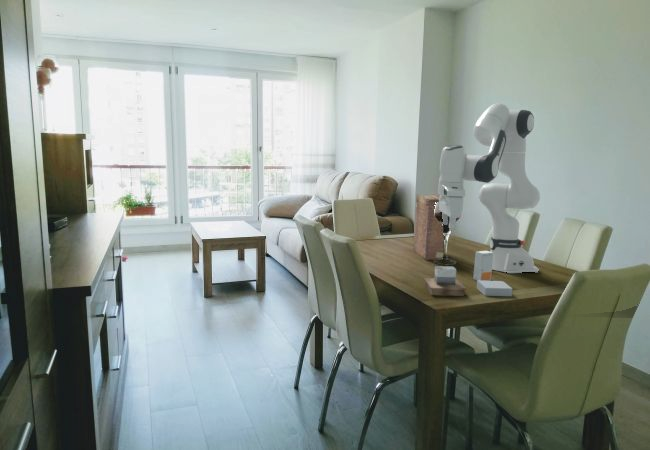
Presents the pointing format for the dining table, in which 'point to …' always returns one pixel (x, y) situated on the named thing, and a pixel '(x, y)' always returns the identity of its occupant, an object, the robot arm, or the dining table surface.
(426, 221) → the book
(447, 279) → the block
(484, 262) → the skincare box
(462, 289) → the tan flat square slab
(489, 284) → the grey stand
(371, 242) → the dining table surface
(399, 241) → the dining table surface
